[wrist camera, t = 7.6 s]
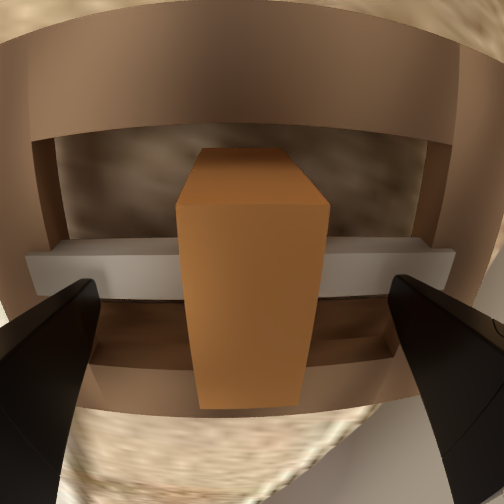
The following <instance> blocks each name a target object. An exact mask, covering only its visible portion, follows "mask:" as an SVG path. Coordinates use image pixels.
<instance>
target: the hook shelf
mask: <svg viewBox="0 0 504 504" xmlns="http://www.w3.org/2000/svg"><path fill="white" fill-rule="evenodd" d="M199 123H263V124H289V125H306V126H320V127H332V128H342V129H352V130H361V131H369V132H377V133H385V134H392V135H398V136H405V137H411V138H417V139H423V140H428V146H427V153H426V160H425V167H424V173H423V179H422V185H421V191H420V196H419V201H418V206H417V211H416V216H415V221H414V225H413V230H412V234H411V237H327V239H326V247H325V254H324V261H323V268H322V275H321V282H320V288H319V295H318V297H339V296H359V295H376V294H389V290H390V287H391V283H392V280H393V277H394V276H395V275H398V274H407V275H409V276H411V277H413V278H415V279H417V280H420V281H422V282H424V283H426V284H428V285H429V286H431V287H433V288H435V289H437V290H439V291H441V292H443V293H445V294H447V295H449V296H451V297H453V298H455V299H457V300H459V301H461V302H463V303H465V304H467V305H468V306H470V307H472V305H473V303H474V300H475V298H476V295H477V293H478V290H479V288H480V285H481V283H482V280H483V277H484V275H485V272H486V269H487V266H488V263H489V261H490V258H491V255H492V252H493V248H494V245H495V242H496V239H497V236H498V232H499V229H500V225H501V222H502V218H503V214H504V64H503V63H501V62H499V61H497V60H495V59H493V58H491V57H489V56H487V55H485V54H483V53H481V52H478V51H476V50H474V49H472V48H469V47H467V46H464V45H462V44H460V43H457V42H455V41H452V40H449V39H447V38H444V37H441V36H439V35H436V34H433V33H430V32H427V31H424V30H421V29H418V28H415V27H412V26H408V25H405V24H402V23H398V22H394V21H391V20H387V19H383V18H379V17H375V16H371V15H366V14H362V13H357V12H352V11H347V10H342V9H336V8H330V7H324V6H317V5H310V4H302V3H293V2H282V1H268V0H190V1H176V2H165V3H156V4H148V5H141V6H134V7H128V8H122V9H116V10H111V11H106V12H101V13H97V14H92V15H88V16H84V17H80V18H76V19H72V20H68V21H65V22H61V23H58V24H55V25H51V26H48V27H45V28H42V29H39V30H36V31H33V32H30V33H27V34H25V35H22V36H19V37H17V38H14V39H11V40H9V41H6V42H4V43H2V44H0V301H1V303H2V305H3V308H4V310H5V313H6V315H7V317H8V319H9V322H10V321H11V320H13V319H15V318H16V317H18V316H19V315H21V314H23V313H24V312H26V311H27V310H29V309H31V308H32V307H34V306H36V305H37V304H39V303H40V302H42V301H44V300H45V299H47V298H49V297H50V296H52V295H54V294H55V293H57V292H59V291H60V290H62V289H64V288H65V287H67V286H69V285H71V284H72V283H74V282H76V281H77V280H79V279H81V278H92V279H94V280H95V282H96V286H97V290H98V293H99V297H100V298H110V299H154V300H184V294H183V285H182V276H181V266H180V256H179V245H178V237H177V238H116V239H72V240H70V238H69V233H68V229H67V224H66V218H65V213H64V208H63V202H62V196H61V189H60V183H59V176H58V168H57V160H56V151H55V141H54V137H60V136H66V135H73V134H79V133H87V132H94V131H102V130H111V129H121V128H131V127H143V126H157V125H174V124H199ZM387 299H388V297H382V298H366V299H348V300H328V301H317V307H316V313H315V319H314V325H313V331H312V336H311V342H310V347H309V352H308V358H307V363H306V368H305V373H304V378H303V383H302V388H301V393H300V397H299V402H298V405H297V406H285V407H270V408H249V409H200V406H199V400H198V394H197V388H196V382H195V376H194V369H193V363H192V356H191V349H190V342H189V334H188V327H187V319H186V311H185V303H127V302H101V310H100V315H99V319H98V324H97V328H96V333H95V338H94V343H93V347H92V351H91V355H90V358H89V362H88V365H87V368H86V371H85V375H84V378H83V382H82V385H81V389H80V392H79V396H78V399H77V403H76V406H77V407H83V408H90V409H97V410H104V411H112V412H121V413H130V414H141V415H153V416H169V417H194V418H241V417H266V416H282V415H295V414H306V413H315V412H324V411H332V410H340V409H347V408H353V407H360V406H366V405H372V404H377V403H383V402H388V401H393V400H398V399H403V398H407V397H411V396H416V395H420V393H419V390H418V387H417V385H416V382H415V380H414V377H413V374H412V372H411V369H410V367H409V364H408V362H407V359H406V357H405V354H404V352H403V350H402V347H401V344H400V342H399V339H398V335H397V332H396V329H395V325H394V322H393V319H392V316H391V313H390V310H389V306H388V302H387Z"/></svg>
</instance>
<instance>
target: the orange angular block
mask: <svg viewBox="0 0 504 504" xmlns="http://www.w3.org/2000/svg"><path fill="white" fill-rule="evenodd" d="M330 206H331V205H330V204H329V202H328V201H327V200H326V199H325V198H324V196H323V195H322V194H321V193H320V192H319V190H318V189H317V188H316V187H315V186H314V185H313V183H312V182H311V181H310V180H309V179H308V178H307V177H306V175H305V174H304V173H303V172H302V171H301V170H300V169H299V167H298V166H297V165H296V164H295V163H294V162H293V161H292V160H291V158H290V157H289V156H288V155H287V154H286V153H285V152H284V151H283V150H282V149H281V148H202V150H201V152H200V154H199V156H198V158H197V160H196V162H195V164H194V166H193V168H192V170H191V172H190V175H189V177H188V179H187V181H186V183H185V185H184V187H183V190H182V192H181V194H180V196H179V198H178V200H177V203H176V205H175V207H176V221H177V233H178V245H179V256H180V266H181V276H182V285H183V294H184V303H185V311H186V319H187V327H188V334H189V342H190V349H191V356H192V363H193V369H194V376H195V382H196V388H197V394H198V400H199V406H200V409H249V408H270V407H285V406H297V405H298V402H299V397H300V393H301V388H302V383H303V378H304V373H305V368H306V363H307V358H308V352H309V347H310V342H311V336H312V331H313V325H314V319H315V313H316V307H317V301H318V295H319V288H320V282H321V275H322V268H323V261H324V254H325V247H326V239H327V231H328V223H329V215H330Z"/></svg>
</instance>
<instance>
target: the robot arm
mask: <svg viewBox="0 0 504 504" xmlns="http://www.w3.org/2000/svg"><path fill="white" fill-rule="evenodd" d="M387 302H388V306H389V310H390V313H391V316H392V319H393V322H394V325H395V329H396V332H397V335H398V339H399V342H400V344H401V347H402V350H403V352H404V354H405V357H406V359H407V362H408V364H409V367H410V369H411V372H412V374H413V377H414V380H415V382H416V385H417V387H418V390H419V393H420V395H421V398H422V401H423V403H424V406H425V409H426V412H427V415H428V417H429V420H430V423H431V426H432V429H433V432H434V435H435V438H436V441H437V445H438V448H439V451H440V454H441V457H442V461H443V464H444V468H445V471H446V475H447V478H448V482H449V485H450V489H451V493H452V497H453V501H454V504H486V503H488V502H490V501H491V500H493V499H495V498H496V497H498V496H500V495H501V494H503V497H504V324H502V323H500V322H498V321H497V320H495V319H491V317H489V316H487V315H485V314H484V313H482V312H480V311H478V310H476V309H474V308H472V307H470V306H468V305H467V304H465V303H463V302H461V301H459V300H457V299H455V298H453V297H451V296H449V295H447V294H445V293H443V292H441V291H439V290H437V289H435V288H433V287H431V286H429V285H428V284H426V283H424V282H422V281H420V280H417V279H415V278H413V277H411V276H409V275H407V274H398V275H395V276H394V277H393V280H392V283H391V287H390V290H389V294H388V299H387ZM100 310H101V301H100V297H99V293H98V290H97V286H96V282H95V280H94V279H92V278H81V279H79V280H77V281H76V282H74V283H72V284H71V285H69V286H67V287H65V288H64V289H62V290H60V291H59V292H57V293H55V294H54V295H52V296H50V297H49V298H47V299H45V300H44V301H42V302H40V303H39V304H37V305H36V306H34V307H32V308H31V309H29V310H27V311H26V312H24V313H23V314H21V315H19V316H18V317H16V318H15V319H13V320H11V321H10V322H8V323H7V324H5V325H4V326H2V327H1V328H0V504H56V499H57V492H58V486H59V481H60V476H59V475H60V474H61V469H62V463H63V458H64V454H65V449H66V444H67V440H68V435H69V431H70V427H71V423H72V419H73V415H74V411H75V407H76V403H77V399H78V396H79V392H80V389H81V385H82V382H83V378H84V375H85V371H86V368H87V365H88V362H89V358H90V355H91V351H92V347H93V343H94V338H95V333H96V328H97V324H98V319H99V315H100Z"/></svg>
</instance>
